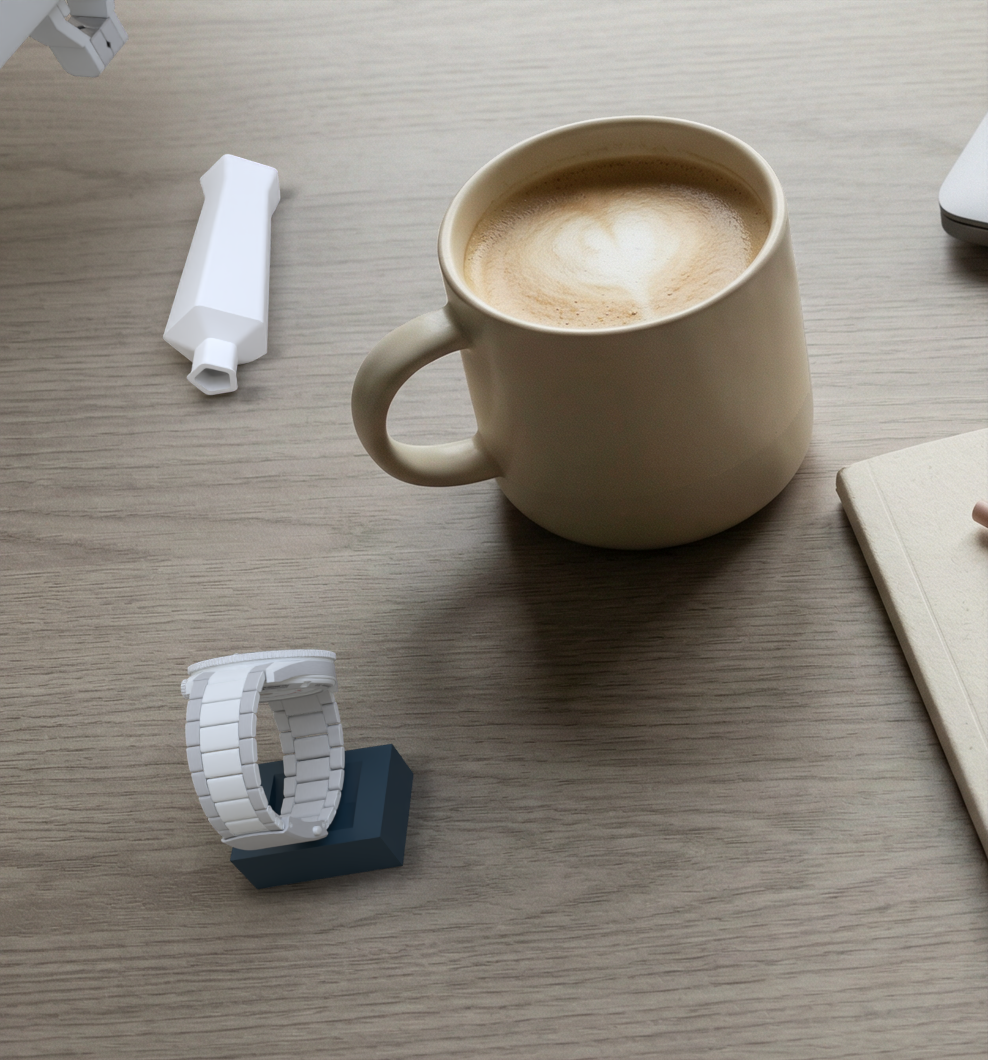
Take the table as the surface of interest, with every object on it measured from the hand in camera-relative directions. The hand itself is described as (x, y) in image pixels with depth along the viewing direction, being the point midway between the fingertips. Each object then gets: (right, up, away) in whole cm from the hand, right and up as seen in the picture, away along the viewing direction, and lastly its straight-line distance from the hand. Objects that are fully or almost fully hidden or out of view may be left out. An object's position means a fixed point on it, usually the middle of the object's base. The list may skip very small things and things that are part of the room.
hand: (100, 58), depth 82 cm
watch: (+18, -36, -12) cm, 42 cm away
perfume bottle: (+1, -4, +10) cm, 10 cm away
